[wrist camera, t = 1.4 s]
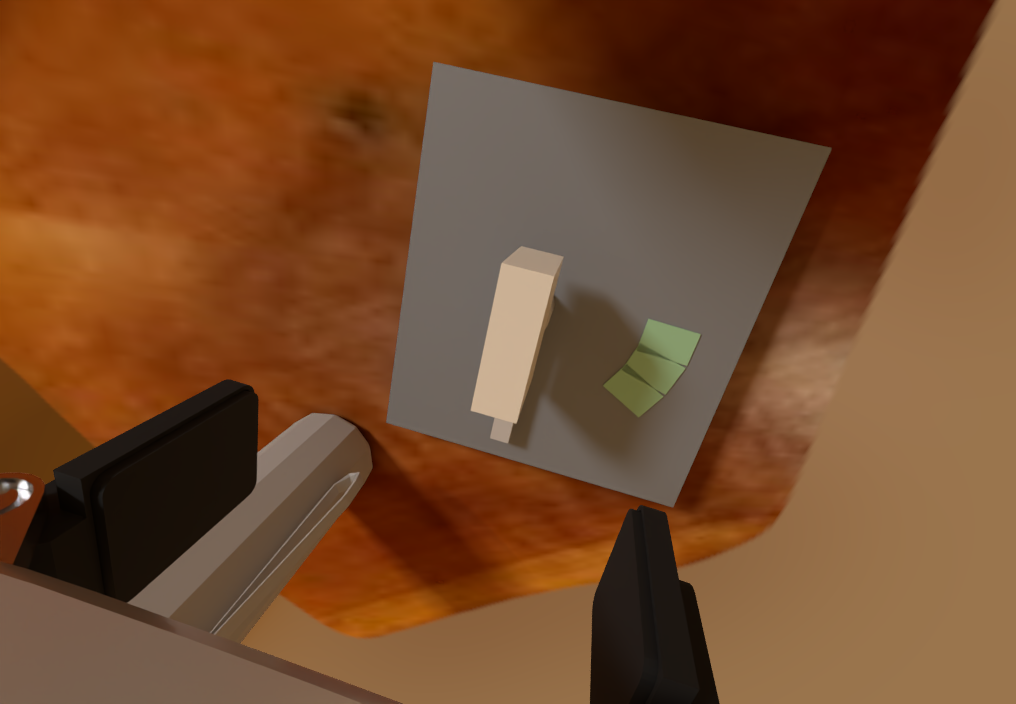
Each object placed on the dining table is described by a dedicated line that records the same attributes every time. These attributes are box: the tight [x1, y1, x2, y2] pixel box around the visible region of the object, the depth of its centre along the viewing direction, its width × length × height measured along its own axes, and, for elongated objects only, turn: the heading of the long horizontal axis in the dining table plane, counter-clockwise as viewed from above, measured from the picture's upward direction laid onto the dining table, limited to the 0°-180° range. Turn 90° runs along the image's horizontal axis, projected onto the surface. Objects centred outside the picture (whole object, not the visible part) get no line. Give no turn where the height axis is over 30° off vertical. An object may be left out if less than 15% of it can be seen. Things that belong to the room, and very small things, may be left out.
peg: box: [471, 246, 564, 443], centre depth 25 cm, size 12×2×8 cm, turn 168°
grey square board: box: [386, 62, 832, 507], centre depth 28 cm, size 22×20×3 cm
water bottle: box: [128, 413, 373, 644], centre depth 26 cm, size 9×8×25 cm
